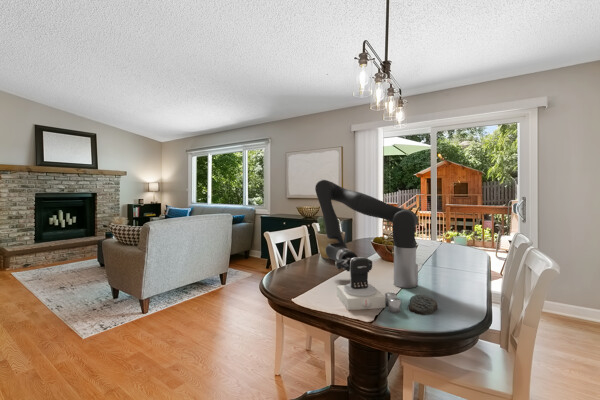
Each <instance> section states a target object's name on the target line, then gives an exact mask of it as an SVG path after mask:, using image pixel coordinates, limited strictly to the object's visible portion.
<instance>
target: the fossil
mask: <svg viewBox="0 0 600 400" xmlns="http://www.w3.org/2000/svg"><path fill="white" fill-rule="evenodd" d="M408 301H409V302H408V307H407V309H408V311H409V312H411V313H414V314H416V315H422V316H425V315H426V316H427V315H429V316H430V315H433V314H434V313H435V312H436V311H437V310H438V307H439V305H438V302H437V300H436V299H434V298H432V297H431V296H429V295H425V294H415V295H412V296H411V297H410V299H409V300H408Z"/></svg>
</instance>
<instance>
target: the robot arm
mask: <svg viewBox="0 0 600 400" xmlns="http://www.w3.org/2000/svg"><path fill="white" fill-rule="evenodd" d="M315 193H316V197H317V200H318V202H319V203H318V204H319V205H320V208H321V213H322V217H323V219H324V222H325V227H326V233H327V237H328V238H329V239H336V240H337V241H338V243H334V244H329V245H328V246H327V247H326V254H327V256H328V257H329V258H330V259H329V260H332V261H333V260H334V261H335V262H334V263H335V265H334V266H335V267H336V269H338V270H341V269H342V270H344V271H346V272H350V260H351V259H352V258H357V257H358V255H357V254H356V253H355V252H354V251H353V250H351V249H349V248H348V247H347V244H346V243H345V241H344V240H345V239H344V240H343V238H342V235H341V232H342V231H341V226H339V225H340V224H339V222H338V220H339V219H338V216H337V214H336V211H335V210H334V206H333V203H332V200H333V201H334V202H335V201H336V202H338V203H341V204H343V205H345V206H346V207H347V208H350V209H351V210H353V211H355V212H357V213H359V214H362V215H365V216H368V217H373V218H378V219H382V220H386V221H388V222H390V223H392V240H393V285H394V286H397V287H399V288H405V289H411V288H416V287H418V286H419V283H418V282H419V280H418V279H419V265H418V264H417V241H416V236H415V235H416V234H415V229H416V226H417V225H418V224H419V218H418V216H417V214H416V213H415V211H412V210H411V209H410V210H409V209H406V208H402V207H398V206H394V205H391V204H388V203H387V202H384V201H382V200H380V199H378V198H376V197H373V196H370V195H368V194H365V193H362V192H359V191H355V190H351V189H350V190H349V189H346V188H344V187H342V186H340V185H338V184H336V183H334V182H332V181H330V180H327V179H320V180H318V181H317V182H316V184H315ZM340 231H341V232H340ZM365 258H366V259H367V260H368V261H369V271H372V268H373V260H371V259H369V258H367V257H365Z"/></svg>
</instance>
